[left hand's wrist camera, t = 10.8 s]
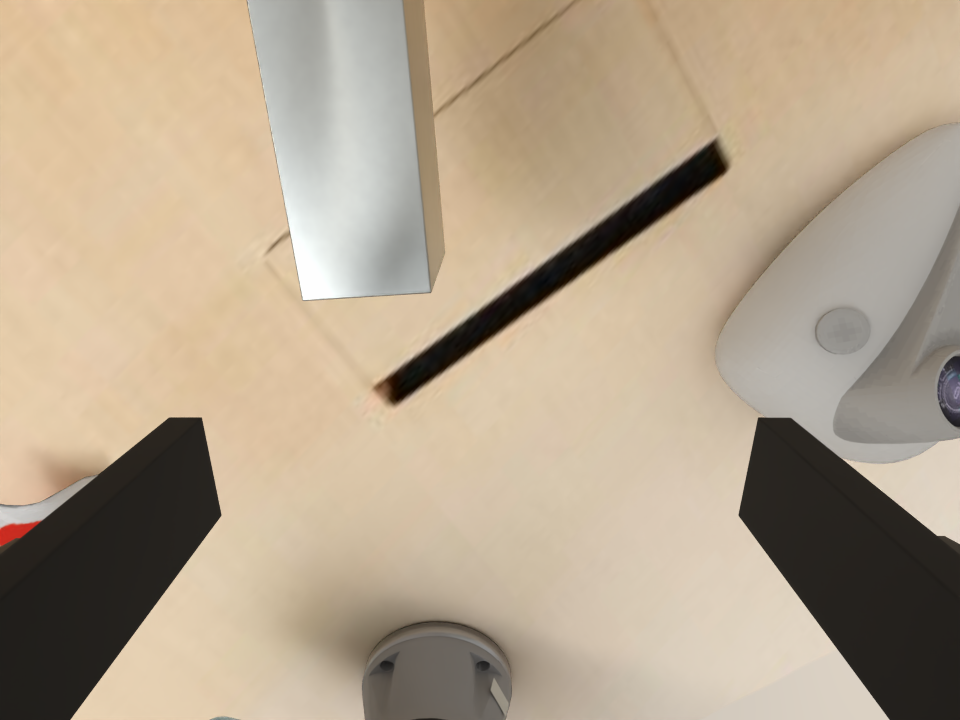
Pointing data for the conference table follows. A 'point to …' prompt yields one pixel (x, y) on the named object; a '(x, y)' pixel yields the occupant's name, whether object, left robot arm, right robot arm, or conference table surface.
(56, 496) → the fish
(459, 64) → the conference table surface
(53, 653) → the left robot arm
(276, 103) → the bar
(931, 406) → the projector
